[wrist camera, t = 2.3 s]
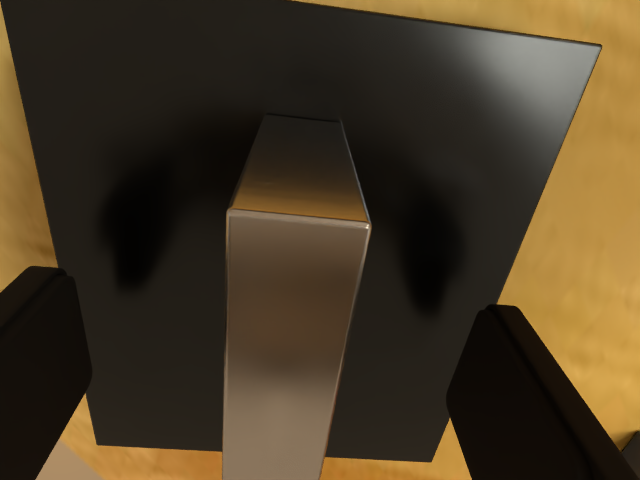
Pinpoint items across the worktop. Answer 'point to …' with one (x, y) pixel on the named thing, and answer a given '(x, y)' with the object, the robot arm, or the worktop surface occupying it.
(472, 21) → the worktop surface
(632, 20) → the worktop surface
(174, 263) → the base
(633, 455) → the red push button box
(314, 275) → the silver lever handle
